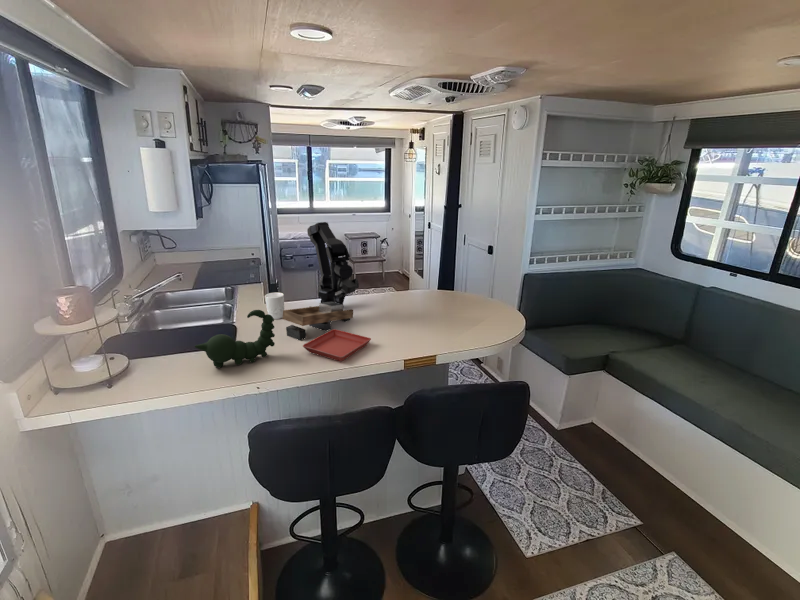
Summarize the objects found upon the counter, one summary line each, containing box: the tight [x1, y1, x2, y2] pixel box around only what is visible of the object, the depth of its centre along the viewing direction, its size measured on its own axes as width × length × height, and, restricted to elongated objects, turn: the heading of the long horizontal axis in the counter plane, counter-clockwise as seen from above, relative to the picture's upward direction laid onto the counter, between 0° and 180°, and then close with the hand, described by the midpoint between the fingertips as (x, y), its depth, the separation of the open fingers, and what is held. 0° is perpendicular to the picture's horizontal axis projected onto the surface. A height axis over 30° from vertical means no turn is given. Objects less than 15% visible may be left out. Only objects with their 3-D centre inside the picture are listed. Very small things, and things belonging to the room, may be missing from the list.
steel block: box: [318, 301, 344, 313], centre depth 176 cm, size 7×7×4 cm
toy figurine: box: [194, 309, 276, 369], centre depth 141 cm, size 9×19×25 cm
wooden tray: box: [282, 305, 354, 327], centre depth 171 cm, size 27×13×4 cm, turn 142°
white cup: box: [264, 292, 285, 320], centre depth 184 cm, size 8×8×10 cm
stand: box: [285, 318, 351, 341], centre depth 172 cm, size 27×10×4 cm, turn 142°
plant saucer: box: [302, 328, 372, 362], centre depth 153 cm, size 18×18×3 cm
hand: (340, 307), depth 180 cm, fingers closed
